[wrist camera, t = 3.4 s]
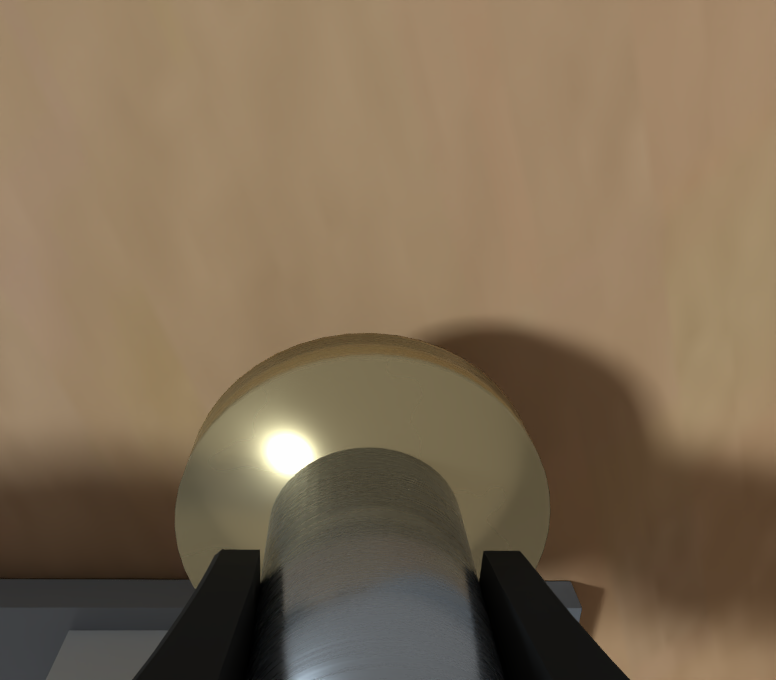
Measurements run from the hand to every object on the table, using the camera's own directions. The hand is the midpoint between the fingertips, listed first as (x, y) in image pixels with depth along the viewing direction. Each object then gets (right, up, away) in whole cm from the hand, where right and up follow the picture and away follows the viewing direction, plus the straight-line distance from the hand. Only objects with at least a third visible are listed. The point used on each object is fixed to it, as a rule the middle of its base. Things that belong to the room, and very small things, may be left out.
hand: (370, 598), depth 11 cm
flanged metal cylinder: (0, +1, +3) cm, 3 cm away
